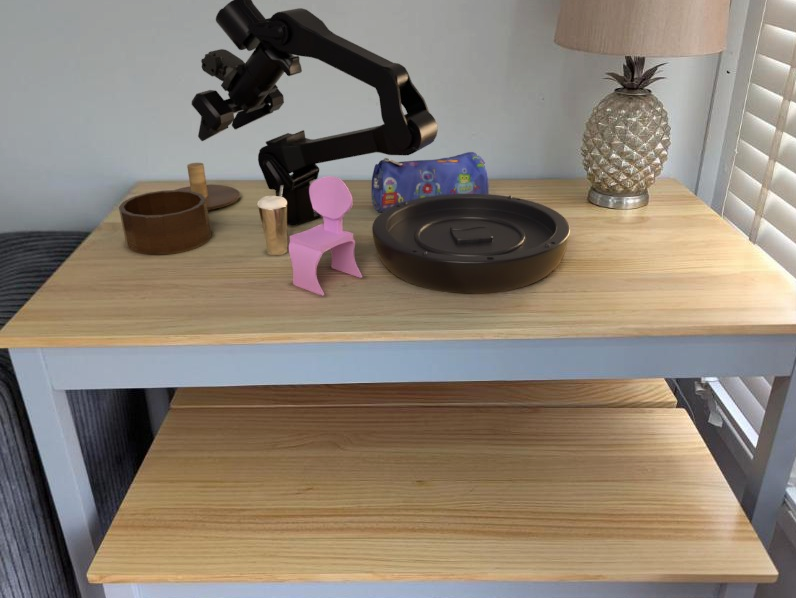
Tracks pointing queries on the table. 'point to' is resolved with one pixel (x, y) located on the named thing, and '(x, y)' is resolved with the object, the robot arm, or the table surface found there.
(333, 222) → the toy chair
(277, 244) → the milkshake
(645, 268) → the table surface
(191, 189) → the lid
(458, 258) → the round tray
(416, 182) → the pencil case
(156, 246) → the bowl
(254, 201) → the table surface
